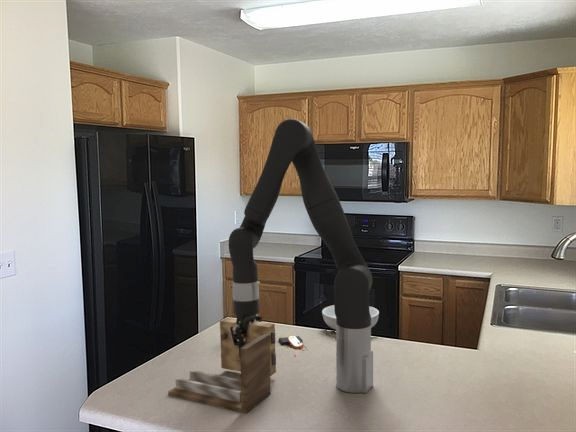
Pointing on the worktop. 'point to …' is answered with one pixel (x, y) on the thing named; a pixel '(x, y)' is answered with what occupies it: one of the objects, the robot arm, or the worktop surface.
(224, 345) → the oak door
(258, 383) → the hinge base
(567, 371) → the worktop surface
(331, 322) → the serving bowl
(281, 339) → the multimeter
